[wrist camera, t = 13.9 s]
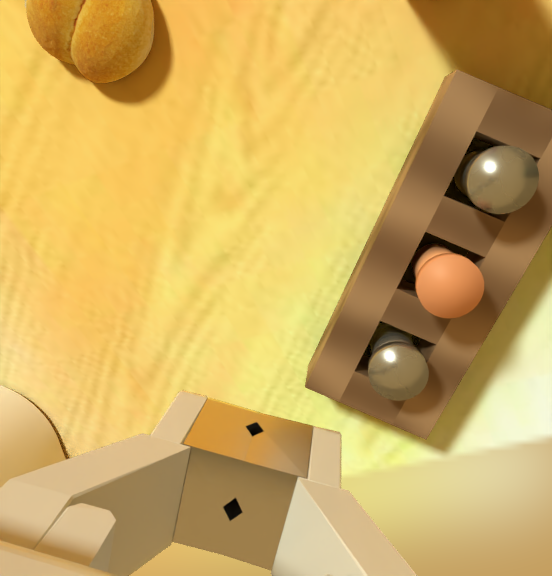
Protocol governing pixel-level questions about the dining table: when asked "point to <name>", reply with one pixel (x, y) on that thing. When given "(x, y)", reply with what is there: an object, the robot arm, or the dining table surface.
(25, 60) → the dining table surface
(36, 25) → the bread roll
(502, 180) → the plunger near
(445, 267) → the plunger mid
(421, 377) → the grey metal capped cylinder
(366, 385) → the walnut block
